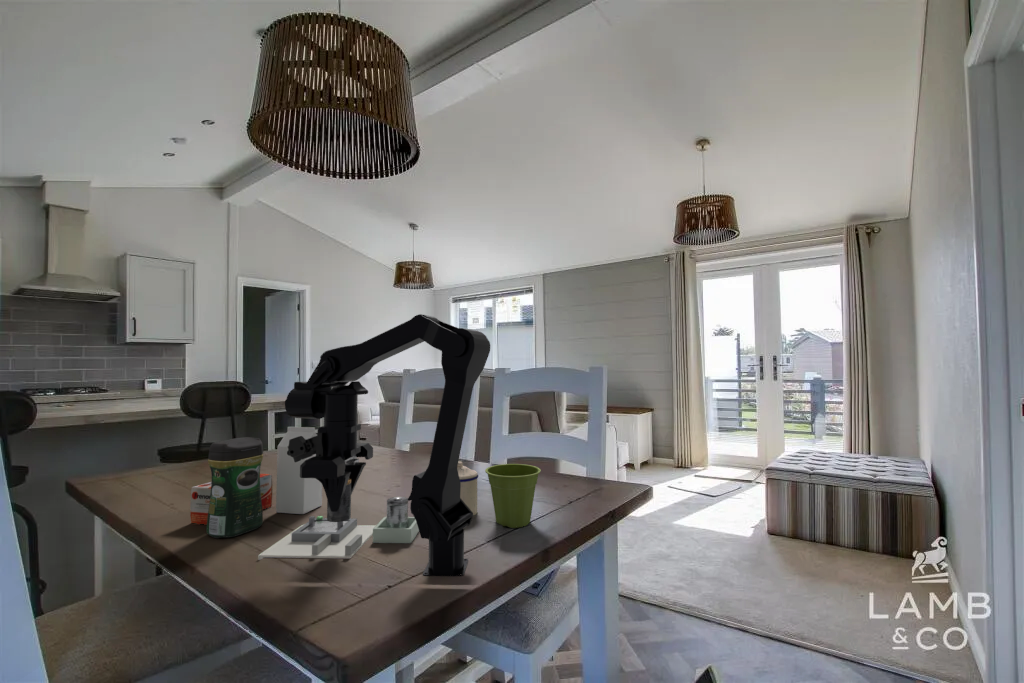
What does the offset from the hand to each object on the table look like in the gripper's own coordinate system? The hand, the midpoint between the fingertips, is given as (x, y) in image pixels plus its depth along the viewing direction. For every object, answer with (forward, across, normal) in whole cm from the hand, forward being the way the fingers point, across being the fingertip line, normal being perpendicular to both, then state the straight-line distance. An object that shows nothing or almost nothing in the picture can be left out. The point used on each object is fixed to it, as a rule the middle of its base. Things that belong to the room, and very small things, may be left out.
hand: (339, 507), depth 86 cm
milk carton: (+8, -26, -20) cm, 33 cm away
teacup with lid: (+8, -24, +16) cm, 30 cm away
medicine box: (+8, -21, -33) cm, 40 cm away
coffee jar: (+8, -10, -26) cm, 29 cm away
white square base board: (+8, -4, -5) cm, 10 cm away
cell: (+2, 0, 0) cm, 2 cm away
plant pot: (+8, -18, +30) cm, 36 cm away
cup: (+8, -8, +8) cm, 14 cm away
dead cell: (+7, -8, +8) cm, 13 cm away
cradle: (+7, -7, -6) cm, 11 cm away
